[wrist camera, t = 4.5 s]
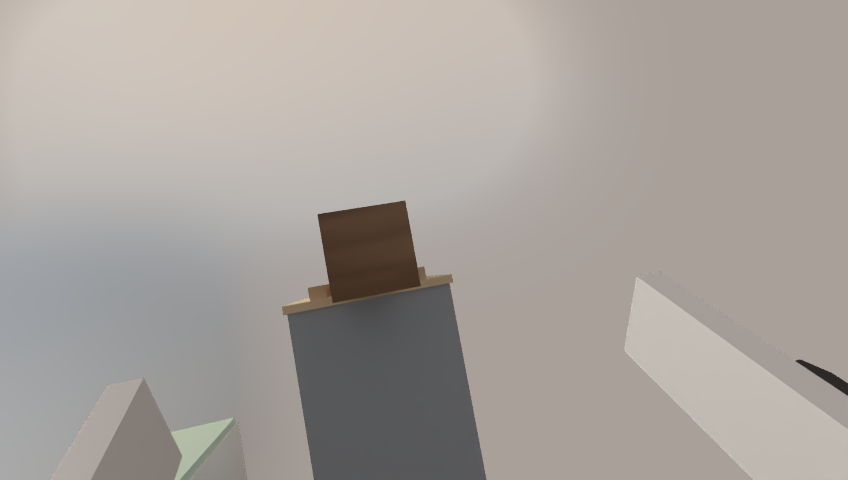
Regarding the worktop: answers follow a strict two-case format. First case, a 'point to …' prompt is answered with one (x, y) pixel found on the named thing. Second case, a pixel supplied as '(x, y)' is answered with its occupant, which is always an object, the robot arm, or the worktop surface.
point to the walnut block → (368, 251)
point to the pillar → (385, 385)
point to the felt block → (211, 452)
